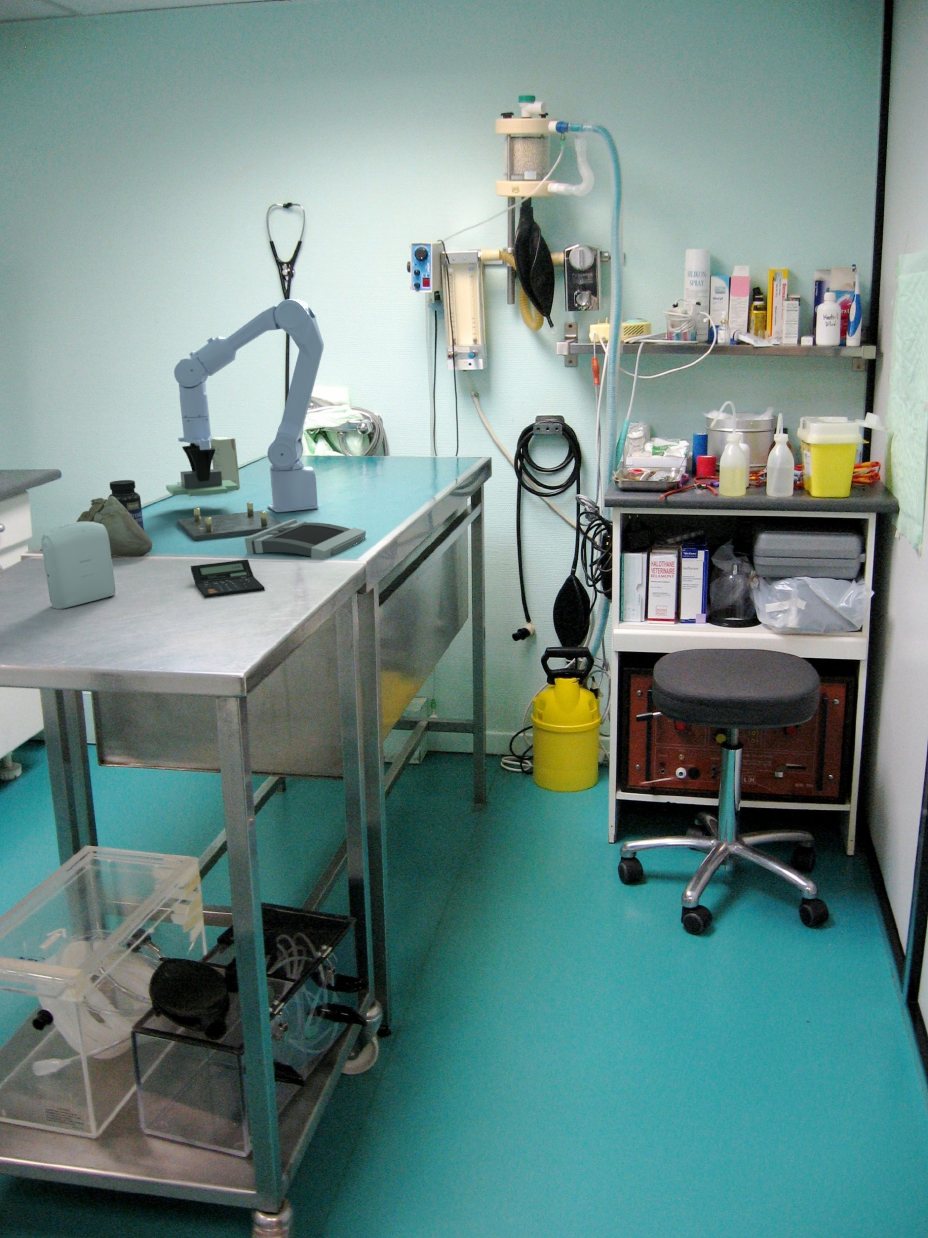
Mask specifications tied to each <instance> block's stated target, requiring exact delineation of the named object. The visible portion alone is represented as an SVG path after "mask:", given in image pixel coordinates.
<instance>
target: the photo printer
mask: <svg viewBox="0 0 928 1238" xmlns="http://www.w3.org/2000/svg"><path fill="white" fill-rule="evenodd" d="M41 549H42V556H43V557H42V558H43V563H44V569H45V570H44V571H45V576H46V581H47V590H48V595H49V602H50V604H51V607H52V608H53V609H56V610H63V609H67V608H71V607H75V606H78V605H82V604H86V603H89V602H95V601H98V600H101V599H106V598H109V597H113V596H115V595H116V593H117V591H116V583H115V574H114V568H113V567H114V566H113V560H112V556H111V551H110V544H109V537H108V533H107V530H106V528H105V526H104V525H103V524H99V523H95V522H76V521H74V522H68V523H64V524H62V525H59V526H57V527H54V528H52V529H51V530H49V531H47V532H46V533H44V534H43V535H42V537H41Z"/></svg>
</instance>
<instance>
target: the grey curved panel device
mask: <svg viewBox="0 0 928 1238" xmlns="http://www.w3.org/2000/svg"><path fill="white" fill-rule="evenodd" d="M366 533H367V531H366V530H363V529H360V528H356V527H353V528H349V527H346V526H341V525H336V524H331V523H323V522H306V521H297V518H295V519H289V520H287V521H284V522H281V524H279V525H276V526H274V527H271V528H269V529H266V530H264V531H261V532H259V533H256V534H252V535H248V536H245V537H244V542H245V549H246V555H247V554H248V555H254V554H265V553H275V552H276V553H291V554H296V555H303V556H308V557H310V559H318V560H325V559H326V558H328V557H331V556H335V555H337V554H339V553H342V552H343V551H345V550H347V549H349V548H351V547H353V546H355V545H357V544H359V543H361V542H360V541H362V540H364V539H366ZM363 538H364V539H363ZM361 539H362V540H361ZM358 542H359V543H358ZM356 543H357V544H356ZM354 544H355V545H354ZM350 546H351V547H350Z"/></svg>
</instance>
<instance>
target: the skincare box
mask: <svg viewBox="0 0 928 1238" xmlns="http://www.w3.org/2000/svg"><path fill="white" fill-rule="evenodd" d="M209 443H210V448H215V453H214V455H213V458H212V462H211V464H212V469H218V470H220V471H221V476H222V481H224V480H230V481H232V482H234V483H235V484H237V485H238V489H240V488H241V486H240V485H241V483H240V473H239V464H238V463H239V461H238V454H237V453H238V452H237V443H236V438H235V437H230V436H219V437H218V436H217V437H212V440H211V441H210V442H209Z"/></svg>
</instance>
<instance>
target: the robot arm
mask: <svg viewBox="0 0 928 1238" xmlns="http://www.w3.org/2000/svg"><path fill="white" fill-rule="evenodd" d="M277 330H283V331H284V332H285V333H286V334H288V335H289V336H290V337H291V339H292V340H293V342H294V343H295V345H296V347H297V348H298V354H297V359H296V361H295V366H294V370H293V373H292V378H291V382H290V385H289V386H290V387H289V390H288V392H287V398H286V401H285V404H284V409H283V413H282V414H283V415H282V418H281V422H280V425H279V427H278V430H277V432H276V435H275V439H274V440H273V441H272V442H271V444H270V445H269V446H268V448H267V459H268V461H269V463H270V464H271V465H270V466H269V473H270V485H271V486H270V487H271V496H272V498H271V499H272V504H267V508H269V509H270V510H272V511H273V512H276V513H287V512H294V511H304V510H305V511H306V510H315V509H319V503H318V491H317V477H316V473H315V470H314V468H313V467H312V466H304V463H303V462H302V461H301V460H300V459H301V458H302V456H303V452H304V445H303V441H302V440H303V435H304V426H305V422H306V417H307V413H308V409H309V407H310V401H311V398H312V394H313V390H314V387H315V383H316V379H317V376H318V375H317V374H318V372H319V368H320V364H321V361H322V359H321V358H322V355H323V351H324V345H325V344H324V341H323V340H324V339H323V338H322V335H321V331H320V328H319V325H318V322H317V316H316V313H315V311H314V312H313V310H312V308H311V307H310V306H309V304H308V303H307V302H306V301H304V300H302V299H297V298H293V299H291V298H289V299H284V300H282V301H280V302H279V303H278V304H277V305H273V306H271V307H269V308H267V309H265V310H263V311H261V312H260V313H258V314H257V315H256V316H254V318H252V319H251V320H249V321H248V322H247V323H246V324H245V323H244V325H243V326H241V327H240V328H238V330H235V332H234V333H232V334H231V335H230V336H228V337H224V336H217V337H214V336H213V337H212V336H211V337H210V338H208V339H207V343H206V344H205V345H203V346H202V347H201V348H199V349H198V350H196V351H195V350H193V351H191V352H190V353H188V354H189V357H190V358H183V359H180V360H179V362H177V364H175V367H174V371H173V374H174V378H175V380H176V383H178V390H179V391H178V392H179V404H180V413H181V421H182V431H183V432H182V433H183V437H178V438H177V439H178V440H177V441H178V442H180V443H188V444H189V445H184V446H181V448H182V450H183V451H184V453H185V455H186V457H187V459H188V462H189V464H190V468H191V471H196V474H197V477H198V480H199V481H209V478H210V469H212V468H211V467H212V458H213V455H214V453H215V448H211V444H210V441H211V440H212V438H213V436H212V435H211V434H212V433H211V422H210V413H209V412H210V411H209V410H210V409H209V404H208V403H209V402H208V394H207V386H206V381H207V380H208V377H212V376H213V375H215V374H217V373H218V372H219V371H220V370H222V369H223V368H225V367H226V366H229V364H231V363H232V362H234V361H235V360H236V356H237V355H236V354H237V351H238V350H239V349H241V348H243V347H244V346H246V345H248V344H249V343H250V342H252V341H254V340H255V339H256V338H258V337H260V336H261V335H263V334H265V333H266V332H268V331H277Z"/></svg>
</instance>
